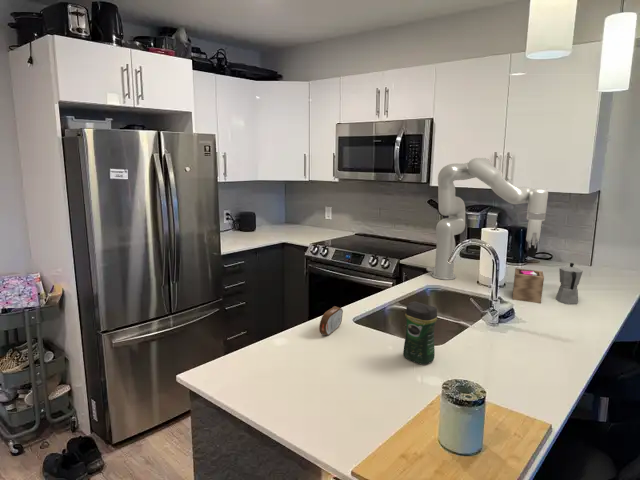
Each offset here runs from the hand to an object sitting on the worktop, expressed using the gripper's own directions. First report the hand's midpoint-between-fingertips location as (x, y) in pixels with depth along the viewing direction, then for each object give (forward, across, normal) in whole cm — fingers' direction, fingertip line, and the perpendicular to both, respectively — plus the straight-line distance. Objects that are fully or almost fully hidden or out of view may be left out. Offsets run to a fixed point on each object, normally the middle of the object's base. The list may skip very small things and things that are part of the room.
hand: (531, 256), depth 200 cm
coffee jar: (+20, +83, -34) cm, 92 cm away
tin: (+20, +75, -68) cm, 103 cm away
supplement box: (+19, 0, 0) cm, 19 cm away
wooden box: (+20, 0, 0) cm, 20 cm away
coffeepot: (+20, -2, +17) cm, 26 cm away
